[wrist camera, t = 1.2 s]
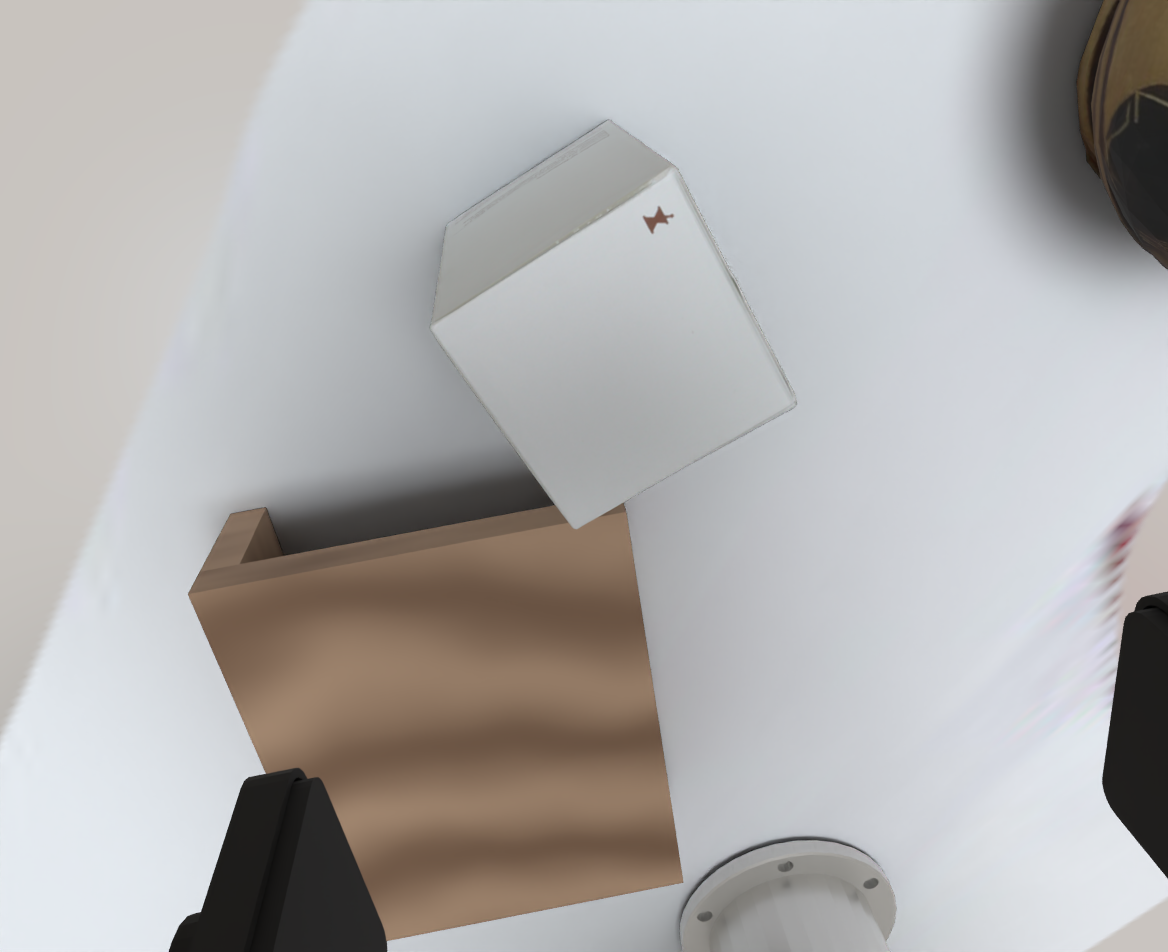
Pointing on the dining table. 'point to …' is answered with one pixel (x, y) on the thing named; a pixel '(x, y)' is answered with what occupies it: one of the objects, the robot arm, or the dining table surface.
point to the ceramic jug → (1129, 115)
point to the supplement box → (603, 324)
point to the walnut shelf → (456, 706)
